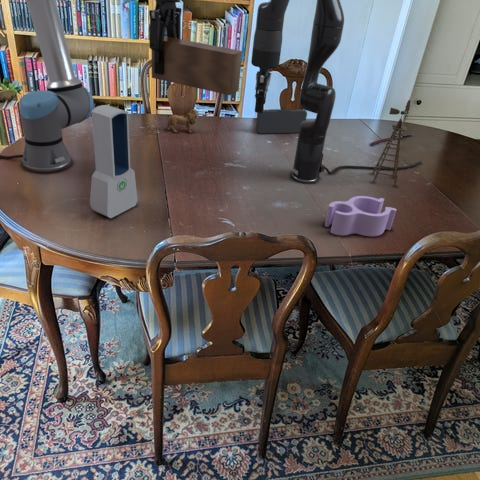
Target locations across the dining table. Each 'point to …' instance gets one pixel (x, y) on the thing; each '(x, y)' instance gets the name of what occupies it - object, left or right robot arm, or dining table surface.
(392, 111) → the miniature windmill
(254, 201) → the dining table surface
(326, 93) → the right robot arm
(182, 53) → the box
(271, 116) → the handheld gaming console
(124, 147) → the electronic device
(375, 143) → the sword
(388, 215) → the clip
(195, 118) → the lion figurine
